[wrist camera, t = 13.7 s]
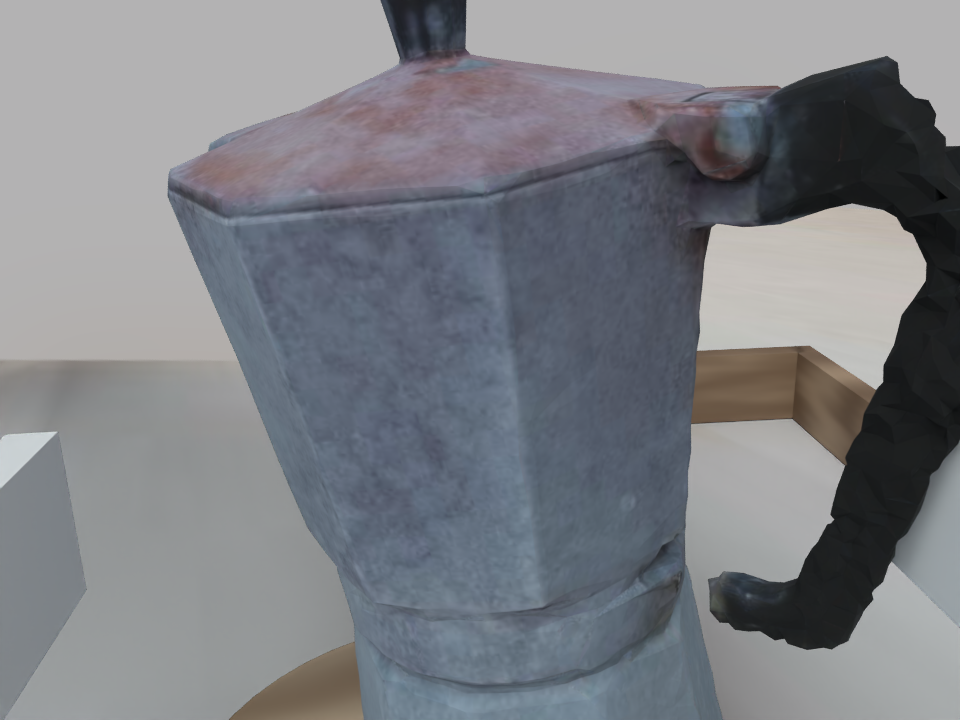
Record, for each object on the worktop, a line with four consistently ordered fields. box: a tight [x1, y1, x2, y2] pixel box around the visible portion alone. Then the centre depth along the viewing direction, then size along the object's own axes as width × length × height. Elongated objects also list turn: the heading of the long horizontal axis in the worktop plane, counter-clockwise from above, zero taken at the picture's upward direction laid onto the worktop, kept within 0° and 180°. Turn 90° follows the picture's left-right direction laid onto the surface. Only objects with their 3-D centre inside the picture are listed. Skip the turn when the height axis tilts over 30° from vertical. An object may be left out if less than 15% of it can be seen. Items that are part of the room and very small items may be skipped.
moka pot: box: [168, 0, 960, 720], centre depth 18 cm, size 10×15×20 cm, turn 58°
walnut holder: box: [691, 346, 876, 465], centre depth 44 cm, size 17×18×4 cm
